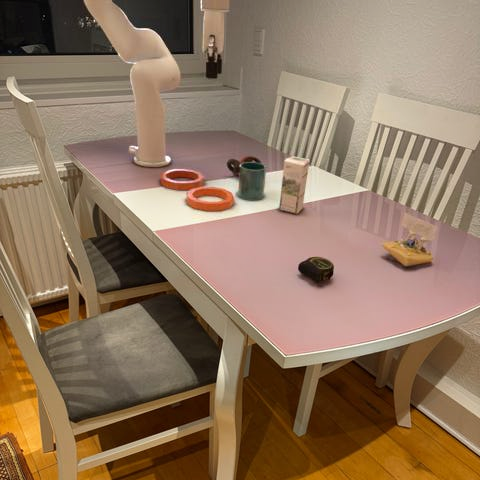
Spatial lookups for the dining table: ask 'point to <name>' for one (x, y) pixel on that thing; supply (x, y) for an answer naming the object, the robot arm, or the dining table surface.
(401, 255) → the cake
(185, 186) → the orange ring
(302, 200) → the syrup box
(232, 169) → the broken clay pot
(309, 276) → the tape measure
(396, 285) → the dining table surface
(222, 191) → the orange ring
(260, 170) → the tumbler
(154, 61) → the robot arm
